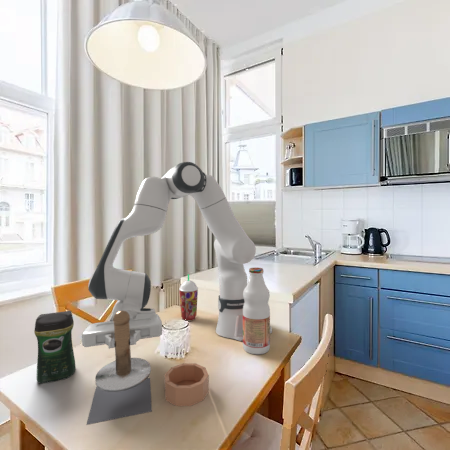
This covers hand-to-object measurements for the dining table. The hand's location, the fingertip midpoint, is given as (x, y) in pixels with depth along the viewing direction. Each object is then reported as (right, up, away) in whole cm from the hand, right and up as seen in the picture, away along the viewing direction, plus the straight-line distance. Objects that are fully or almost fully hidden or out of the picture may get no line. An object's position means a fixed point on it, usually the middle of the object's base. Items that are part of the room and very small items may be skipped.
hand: (122, 343), depth 69 cm
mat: (-1, -15, +1) cm, 15 cm away
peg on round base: (0, -8, +1) cm, 9 cm away
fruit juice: (+36, -14, +28) cm, 48 cm away
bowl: (+15, -15, +4) cm, 22 cm away
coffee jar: (-24, -15, +12) cm, 31 cm away
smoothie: (+9, -13, +55) cm, 58 cm away
